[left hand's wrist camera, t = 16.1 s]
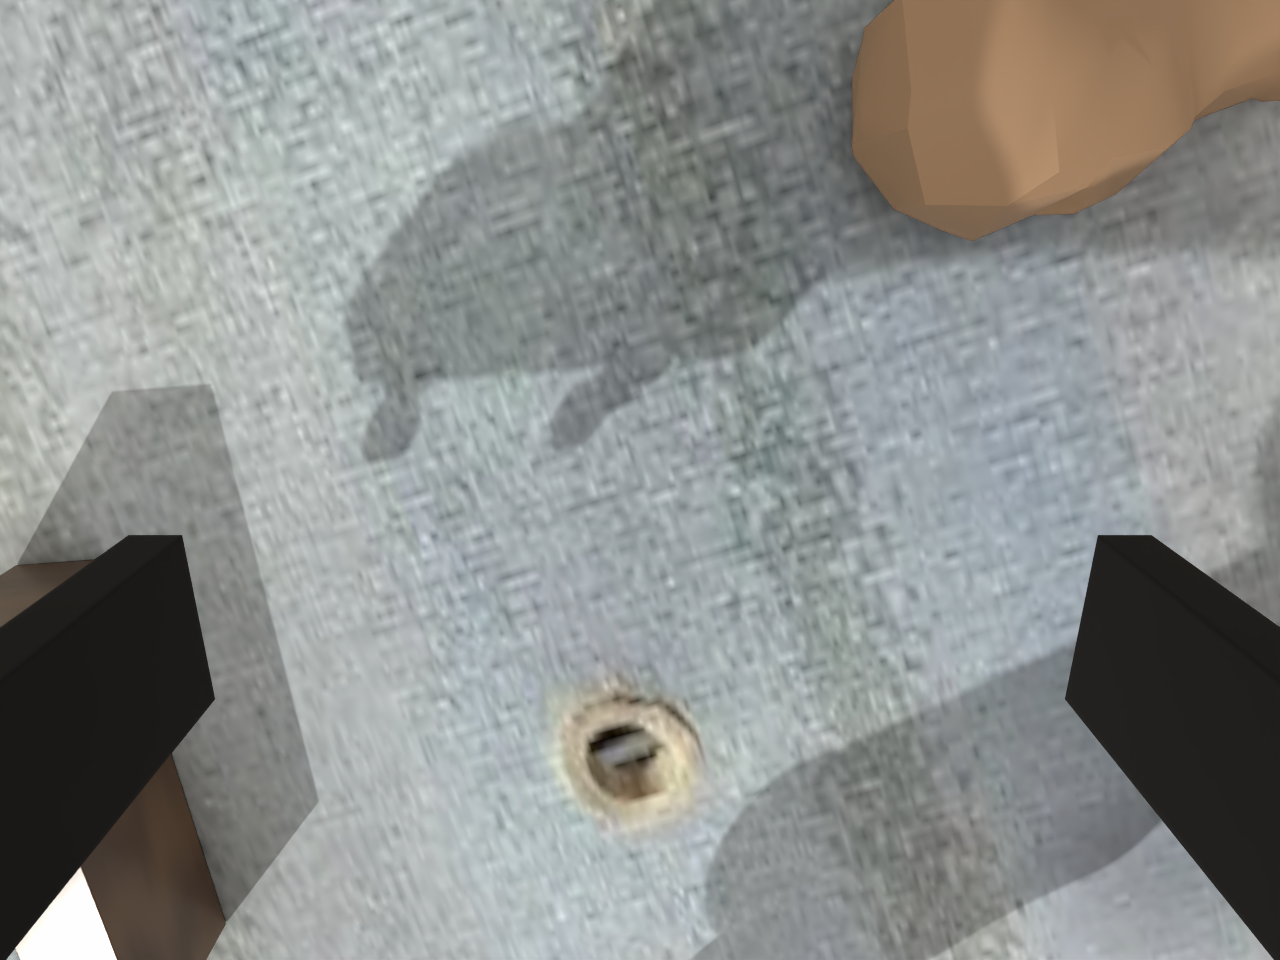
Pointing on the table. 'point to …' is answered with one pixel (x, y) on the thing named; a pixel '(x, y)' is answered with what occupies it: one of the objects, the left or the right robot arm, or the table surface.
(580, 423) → the table surface
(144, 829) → the bar
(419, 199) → the table surface
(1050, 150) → the squash
